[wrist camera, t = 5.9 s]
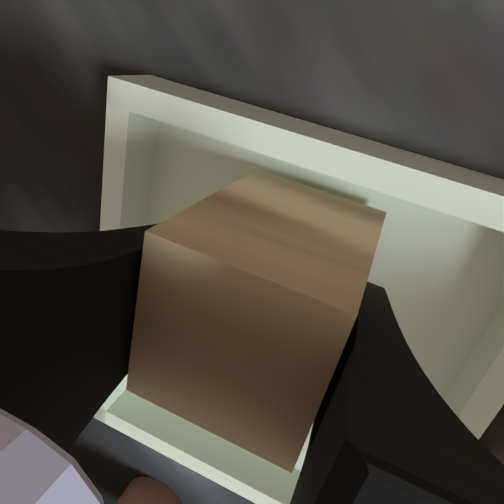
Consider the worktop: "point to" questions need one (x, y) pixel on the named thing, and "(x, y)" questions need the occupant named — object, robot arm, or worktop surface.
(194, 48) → the worktop surface
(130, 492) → the terracotta cylinder
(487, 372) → the tray
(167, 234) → the beech block
